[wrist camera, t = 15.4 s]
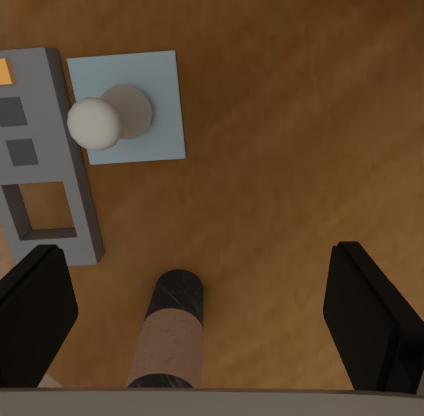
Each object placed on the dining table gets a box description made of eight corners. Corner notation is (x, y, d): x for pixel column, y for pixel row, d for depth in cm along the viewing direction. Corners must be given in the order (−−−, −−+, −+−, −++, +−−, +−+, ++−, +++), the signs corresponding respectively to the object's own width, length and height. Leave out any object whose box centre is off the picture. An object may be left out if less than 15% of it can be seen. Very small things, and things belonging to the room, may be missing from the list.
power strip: (-39, 57, 35) (-67, 55, 32) (57, 49, 35) (40, 46, 31) (29, 257, 45) (13, 272, 41) (104, 252, 45) (95, 267, 41)
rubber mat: (68, 59, 35) (66, 58, 34) (175, 50, 35) (174, 50, 34) (92, 163, 40) (90, 164, 39) (186, 157, 39) (185, 158, 39)
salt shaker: (110, 77, 35) (56, 76, 23) (160, 92, 36) (133, 98, 24) (102, 128, 37) (50, 151, 25) (149, 141, 38) (120, 170, 26)
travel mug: (154, 265, 45) (114, 393, 27) (207, 270, 46) (203, 400, 27) (153, 307, 48) (115, 449, 30) (202, 311, 48) (195, 455, 30)
